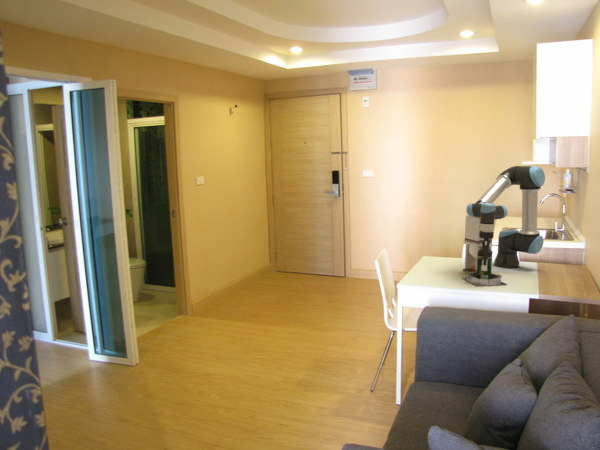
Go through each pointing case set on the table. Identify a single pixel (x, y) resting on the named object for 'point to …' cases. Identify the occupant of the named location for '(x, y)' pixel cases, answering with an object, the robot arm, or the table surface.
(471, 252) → the toilet paper holder
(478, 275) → the coffee jar
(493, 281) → the duct collar
